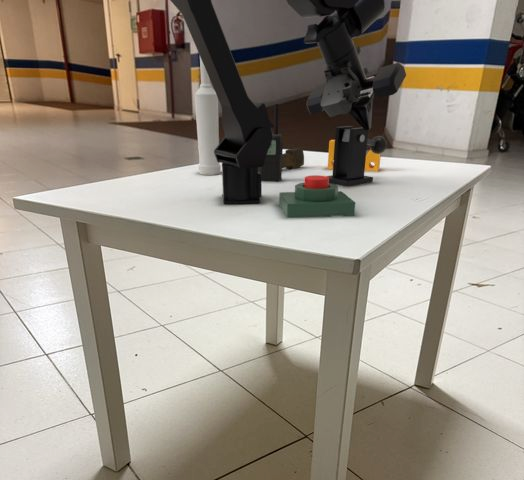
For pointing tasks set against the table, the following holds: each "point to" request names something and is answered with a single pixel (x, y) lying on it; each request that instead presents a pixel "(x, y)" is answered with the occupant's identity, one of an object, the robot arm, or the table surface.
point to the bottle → (207, 124)
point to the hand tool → (292, 158)
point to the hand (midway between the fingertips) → (368, 129)
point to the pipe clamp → (369, 158)
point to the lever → (369, 142)
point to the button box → (316, 202)
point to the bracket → (350, 158)
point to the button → (316, 182)
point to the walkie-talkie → (273, 155)
